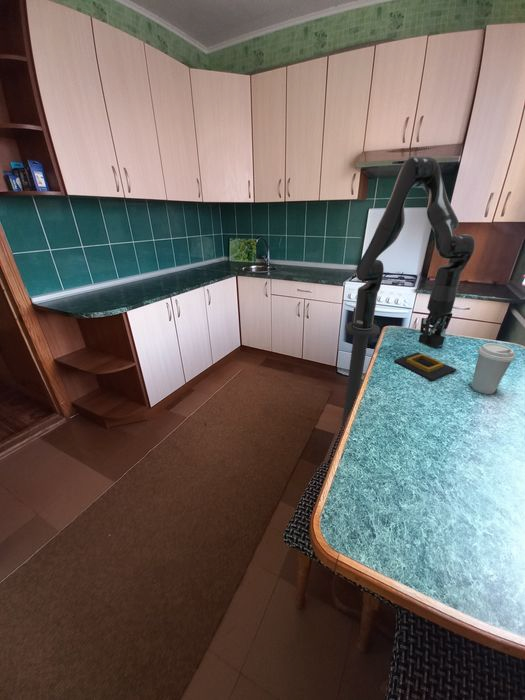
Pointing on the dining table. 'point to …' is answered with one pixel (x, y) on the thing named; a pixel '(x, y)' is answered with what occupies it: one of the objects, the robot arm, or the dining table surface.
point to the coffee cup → (491, 367)
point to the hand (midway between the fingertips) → (430, 341)
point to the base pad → (425, 366)
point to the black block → (433, 340)
